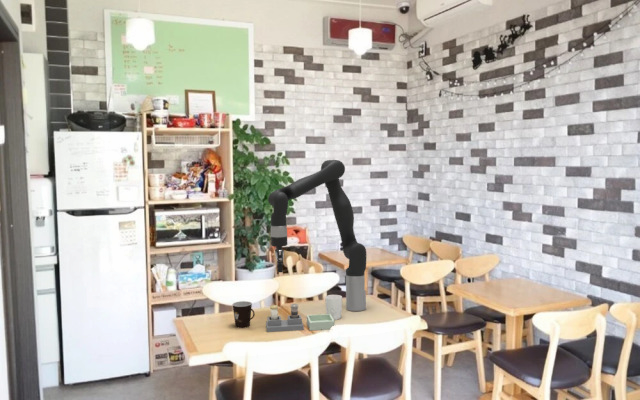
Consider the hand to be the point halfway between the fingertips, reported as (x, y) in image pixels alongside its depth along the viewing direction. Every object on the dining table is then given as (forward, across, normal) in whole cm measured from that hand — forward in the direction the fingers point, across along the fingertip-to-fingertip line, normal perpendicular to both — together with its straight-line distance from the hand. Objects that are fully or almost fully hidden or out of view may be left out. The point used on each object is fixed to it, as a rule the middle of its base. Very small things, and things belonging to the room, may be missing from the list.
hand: (279, 270), depth 240 cm
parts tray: (+24, -10, -17) cm, 31 cm away
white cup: (+24, +1, -25) cm, 35 cm away
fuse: (+22, -10, +3) cm, 24 cm away
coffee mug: (+24, -6, +17) cm, 30 cm away
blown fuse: (+22, -10, -6) cm, 25 cm away
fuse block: (+24, -10, -1) cm, 26 cm away
